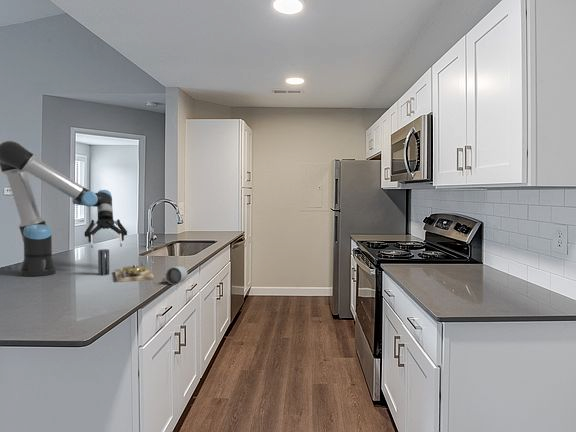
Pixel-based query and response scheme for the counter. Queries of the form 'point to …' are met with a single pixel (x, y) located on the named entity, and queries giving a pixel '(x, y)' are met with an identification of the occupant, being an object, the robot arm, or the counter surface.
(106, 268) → the pinion
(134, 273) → the gear
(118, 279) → the board
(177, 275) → the ceramic mug
